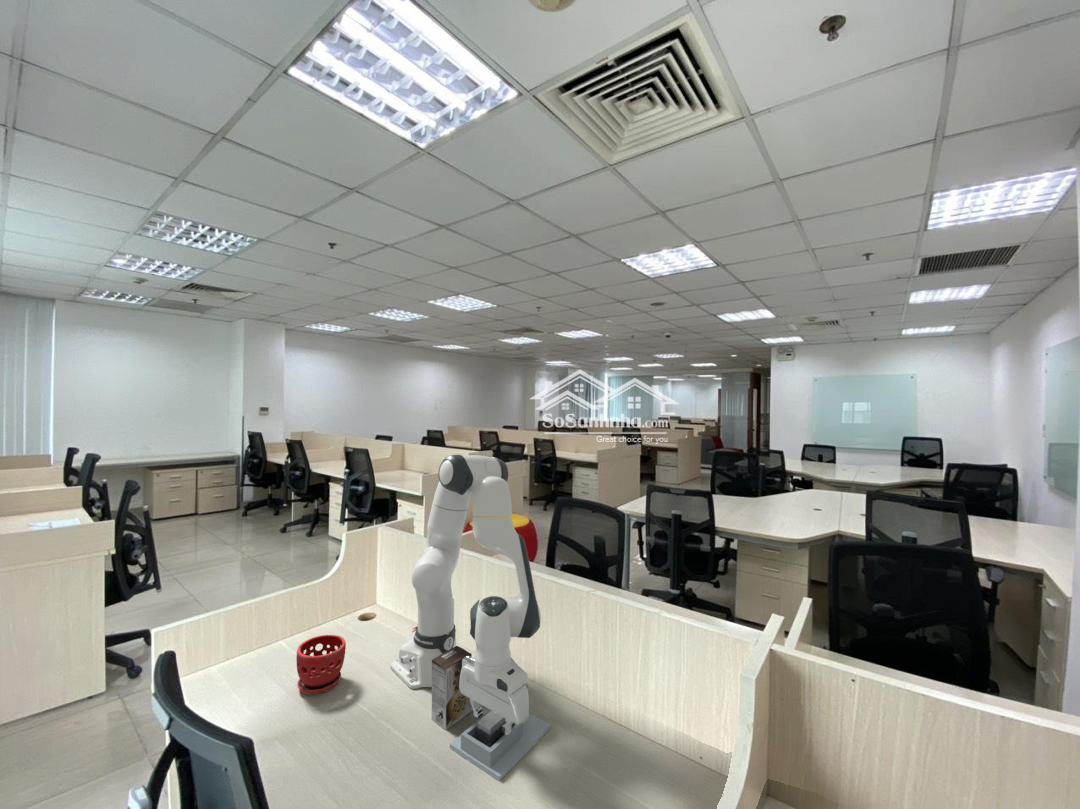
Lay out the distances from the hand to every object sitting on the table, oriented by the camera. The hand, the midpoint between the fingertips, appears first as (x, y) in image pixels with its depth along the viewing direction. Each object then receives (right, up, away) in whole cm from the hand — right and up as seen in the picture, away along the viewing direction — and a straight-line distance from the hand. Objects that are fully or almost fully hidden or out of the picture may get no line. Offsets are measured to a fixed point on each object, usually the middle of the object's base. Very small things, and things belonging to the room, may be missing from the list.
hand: (492, 724), depth 108 cm
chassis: (+2, -6, +3) cm, 7 cm away
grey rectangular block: (0, -5, 0) cm, 5 cm away
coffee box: (-12, -6, +11) cm, 17 cm away
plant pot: (-53, -5, +23) cm, 59 cm away
